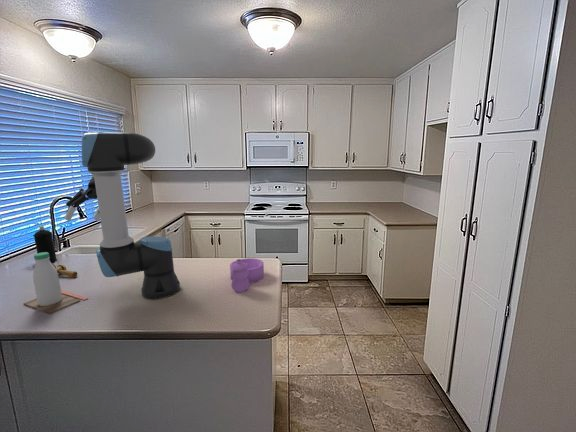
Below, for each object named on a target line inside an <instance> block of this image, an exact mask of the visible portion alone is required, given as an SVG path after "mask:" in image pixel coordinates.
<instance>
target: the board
mask: <svg viewBox="0 0 576 432" xmlns="http://www.w3.org/2000/svg"><path fill="white" fill-rule="evenodd" d="M79 302H81V300H80V299H77V298H74V297H70V296H67V295H64V294H62V300H61V301H60V302H58V303H56V304H53V305H49V306H40V305H39V304H38V301H37V298H35V299H32V300H28V301H26V302H23V305H24V306H26V307H29V308H31V307H32V309H34V308H35V309H34V310H37V311H40V312H43V313H46V314H48V313H49V314H48V315H51V314H54V313H56V312H58V311H61V310H63V309H65V308H68V307H70V306H72V305H74V304H78V303H79ZM53 312H54V313H53Z"/></svg>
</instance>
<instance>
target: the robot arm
mask: <svg viewBox="0 0 576 432" xmlns="http://www.w3.org/2000/svg"><path fill="white" fill-rule="evenodd" d="M155 154H156V146H155V144H154V142H153V141H152V140H151V139H150V138H149V137H147V136H145V135H143V134H139V133H135V132H107V131H106V132H104V131H103V132H99V131H96V132H86V133H84V134H83V135H82V137H81V166H83V167H85V168H87V172H88V173H89V174H90V175H92V176H91V178H90V180H89V182H88V184H87V188H86V189H83V188H79V190H78V192H77V193H76V194H75V195H73V196H72V197H71V198H70V199H69V200H68V201H67V202H65V205H66V206H67V207H68V208H67V209H66V211H65V212H66V214H64V218H63V219H64V220H66V221H67V222H71V220H72V218H73V216H74V214H75V212H76V210H77V209H76V208H77V207H79V206H80V205H82V204H83V203H84V202H86V201H89V200H92V199H93V200H94V199H95V200H97V204H98V206H97V208H96V211H95V213H94V215H93V217H92V218H93V220H95V221H96V222H99V221H100V225H101V232H102V238H103V239H102V241H100V242H99V247H98V248H97V249H95V253H96V257H97V261H98V265H99V268H100V271H101V273H102V275H103V276H104V277H105V278H113V277H119V276H125V275H130V274H136V273H140V272H143V282H142V286H141V289H140V290H141V295H142V296H141V297H143V298H145V299H148V300H149V299H150V300H157V299H163V298H167V297H172V296H173V295H175V294H176V293H178V292H179V291H180V290H181V282H180V280H179V279H178V277H177V275H176V272H175V268H174V267H175V265H174V256H173V247H172V242H171V240H170V238H167V237H164V236H160V235H159V236H157V235H156V236H153V235H152V236H151V235H150V236H144V237H141V238H139V242H135V241H134V238H132V237H131V236H130V235H129V229H128V222H127V221H128V220H127V213H126V207H125V206H126V205H125V198H124V197H125V196H124V190H123V189H124V188H123V182H122V174H123V172H125V166H131V165H138V164H143V163H146V162H149V161H151V160H152V159H153V158H154V156H155Z"/></svg>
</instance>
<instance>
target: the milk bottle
mask: <svg viewBox="0 0 576 432" xmlns="http://www.w3.org/2000/svg"><path fill="white" fill-rule="evenodd" d="M33 258H34V259H33V260H34V261H35V267H34V269H33V273H32V279H33V285H34V291H35V295H36V296H35V297H36V299H37V301H38V304H39V305H40V306H49V305H53V304H56V303H58V302H60V301H61V300H62V295H63V294H62V293H61V290H62V289H61V284H60V278H59V274H58V273H57V270H56V269H55V267H54V266H53V265H54V264H53V263H51V262H50V260H49V258H50V257H49V253H48V252H42V253H38V254H37V253H36V254H33ZM52 264H53V265H52Z"/></svg>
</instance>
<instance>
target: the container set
mask: <svg viewBox="0 0 576 432" xmlns="http://www.w3.org/2000/svg"><path fill="white" fill-rule="evenodd" d="M264 267H265V265H264V261H263V260H261V259H257V258H237V259H236V260H234V261H232V262H230V264H229V272H230V273H229V274H230V281H231V284H230V285H231V288H232V290H233V291H235V292H236V293H244V292H246V291H247V290H248V289H249V287H250V284H254V283H257V282H259V281H262V280H263V279H264V278H265V268H264Z"/></svg>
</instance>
